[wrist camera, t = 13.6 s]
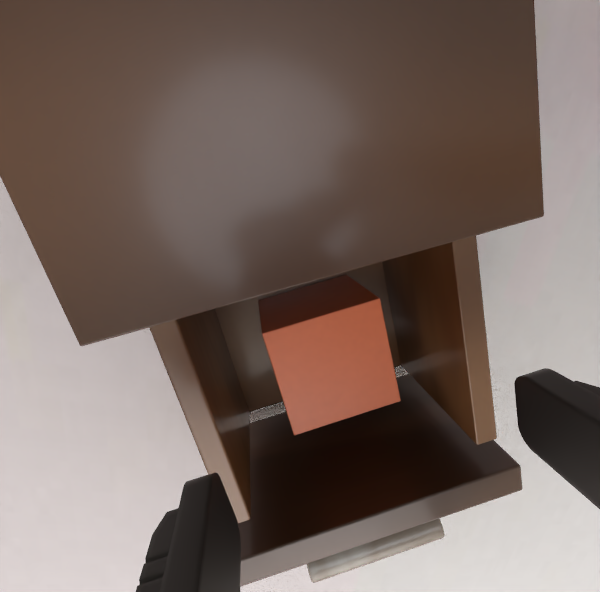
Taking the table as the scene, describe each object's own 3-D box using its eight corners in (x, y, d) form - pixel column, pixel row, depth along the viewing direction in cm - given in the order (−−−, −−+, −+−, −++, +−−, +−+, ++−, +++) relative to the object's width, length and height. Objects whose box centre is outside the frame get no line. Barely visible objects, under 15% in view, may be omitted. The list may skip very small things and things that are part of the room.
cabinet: (398, 210, 19) (544, 216, 10) (165, 273, 18) (79, 347, 9) (341, -140, 15) (502, -716, 5) (35, -81, 14) (-397, -662, 4)
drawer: (434, 449, 22) (529, 575, 15) (258, 506, 21) (264, 671, 14) (384, 148, 17) (492, 104, 9) (150, 208, 16) (67, 212, 9)
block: (346, 274, 17) (380, 297, 13) (365, 355, 18) (401, 401, 14) (257, 300, 17) (261, 333, 12) (282, 380, 18) (294, 436, 14)
